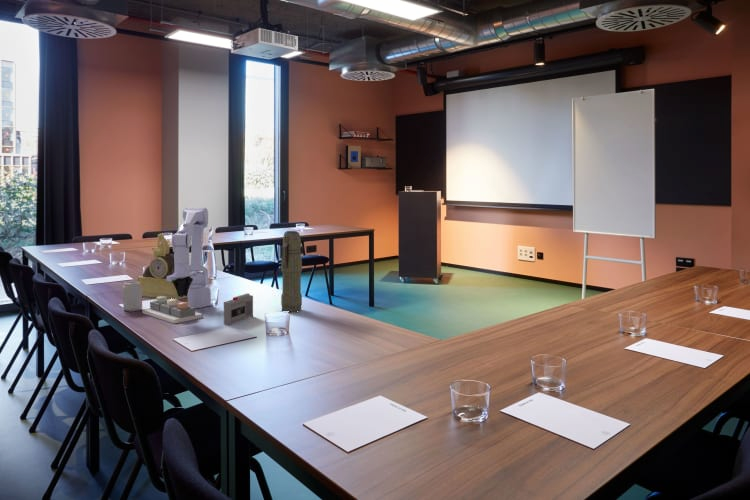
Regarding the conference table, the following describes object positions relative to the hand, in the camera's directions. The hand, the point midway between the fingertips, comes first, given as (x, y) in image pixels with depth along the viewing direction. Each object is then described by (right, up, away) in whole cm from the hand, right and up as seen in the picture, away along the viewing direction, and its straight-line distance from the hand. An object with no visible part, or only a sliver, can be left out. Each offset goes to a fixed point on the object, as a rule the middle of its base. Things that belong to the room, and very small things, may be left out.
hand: (182, 296), depth 220 cm
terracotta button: (0, -6, +1) cm, 6 cm away
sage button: (-13, -5, +11) cm, 17 cm away
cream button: (-6, -5, +6) cm, 10 cm away
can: (-27, -7, +14) cm, 31 cm away
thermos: (+41, -8, +19) cm, 46 cm away
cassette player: (+23, -10, +1) cm, 25 cm away
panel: (-6, -9, +6) cm, 12 cm away
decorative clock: (-26, -3, +45) cm, 52 cm away
